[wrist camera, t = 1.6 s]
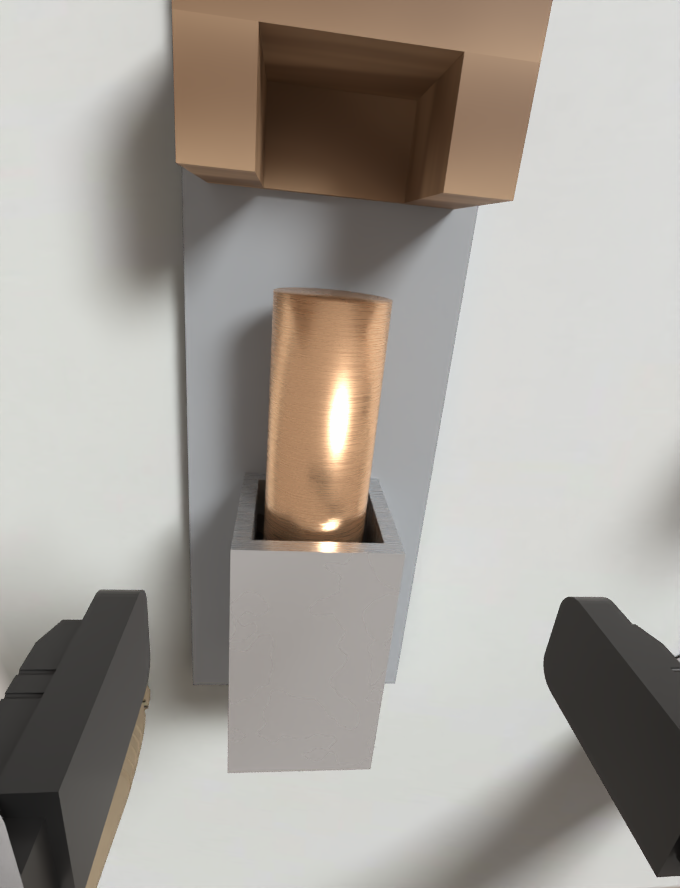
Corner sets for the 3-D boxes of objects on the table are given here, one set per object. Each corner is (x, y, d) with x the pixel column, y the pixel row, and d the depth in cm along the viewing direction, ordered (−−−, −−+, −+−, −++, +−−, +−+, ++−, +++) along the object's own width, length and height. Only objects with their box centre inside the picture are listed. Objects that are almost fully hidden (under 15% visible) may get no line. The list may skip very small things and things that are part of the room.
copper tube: (341, 634, 28) (350, 702, 24) (260, 634, 27) (255, 704, 23) (381, 293, 21) (403, 307, 17) (275, 284, 21) (271, 296, 17)
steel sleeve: (353, 661, 30) (370, 769, 24) (240, 661, 29) (227, 772, 23) (377, 478, 26) (405, 554, 20) (244, 472, 25) (230, 550, 19)
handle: (152, 643, 30) (32, 1003, 16) (176, 721, 32) (90, 1092, 18) (67, 655, 29) (-131, 1031, 15) (98, 733, 32) (-49, 1117, 18)
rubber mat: (391, 670, 32) (394, 683, 31) (196, 671, 31) (193, 684, 30) (507, -9, 19) (517, -21, 18) (182, -62, 18) (176, -78, 17)
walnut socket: (453, 209, 21) (512, 200, 16) (207, 182, 20) (175, 162, 14) (481, 32, 19) (562, -53, 13) (206, -10, 18) (168, -122, 12)
